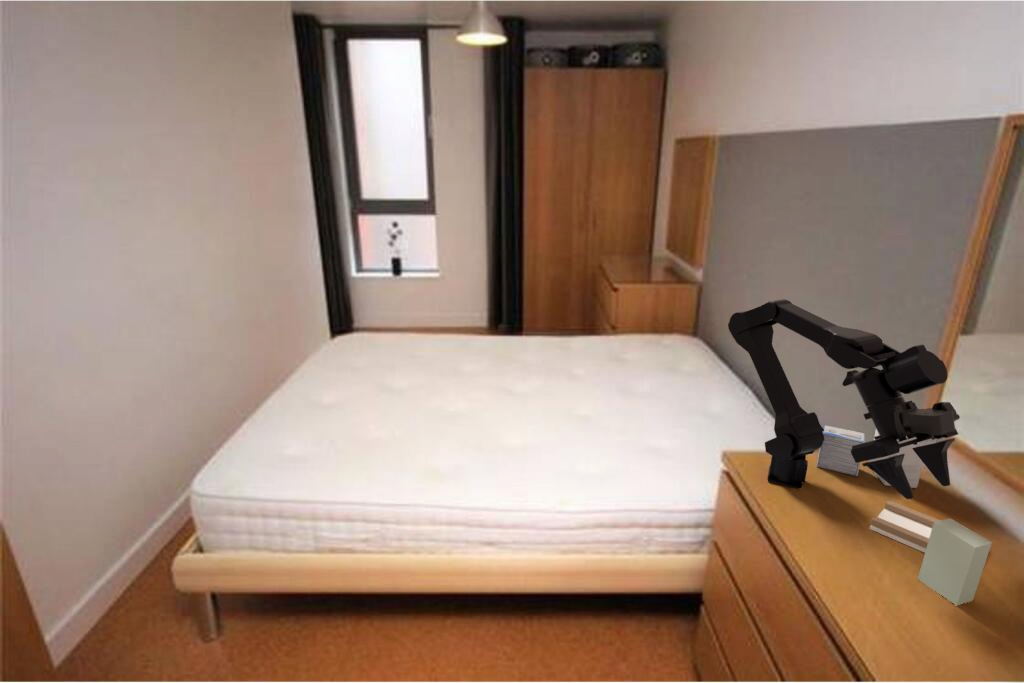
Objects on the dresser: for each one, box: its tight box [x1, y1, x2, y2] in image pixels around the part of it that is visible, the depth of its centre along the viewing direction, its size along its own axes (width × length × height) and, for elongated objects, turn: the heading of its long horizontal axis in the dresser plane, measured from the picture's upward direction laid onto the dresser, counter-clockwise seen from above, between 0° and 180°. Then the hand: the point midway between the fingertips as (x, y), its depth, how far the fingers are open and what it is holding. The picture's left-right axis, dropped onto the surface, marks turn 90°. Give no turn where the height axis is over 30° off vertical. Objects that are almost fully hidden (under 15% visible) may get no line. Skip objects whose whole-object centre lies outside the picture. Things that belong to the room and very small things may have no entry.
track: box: [869, 500, 942, 554], centre depth 97 cm, size 14×10×2 cm
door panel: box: [917, 517, 993, 607], centre depth 83 cm, size 6×4×11 cm, turn 18°
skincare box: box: [872, 428, 924, 489], centre depth 113 cm, size 8×7×16 cm
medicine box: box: [816, 425, 866, 477], centre depth 118 cm, size 8×4×9 cm, turn 58°
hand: (928, 492), depth 88 cm, fingers open, 9 cm apart
